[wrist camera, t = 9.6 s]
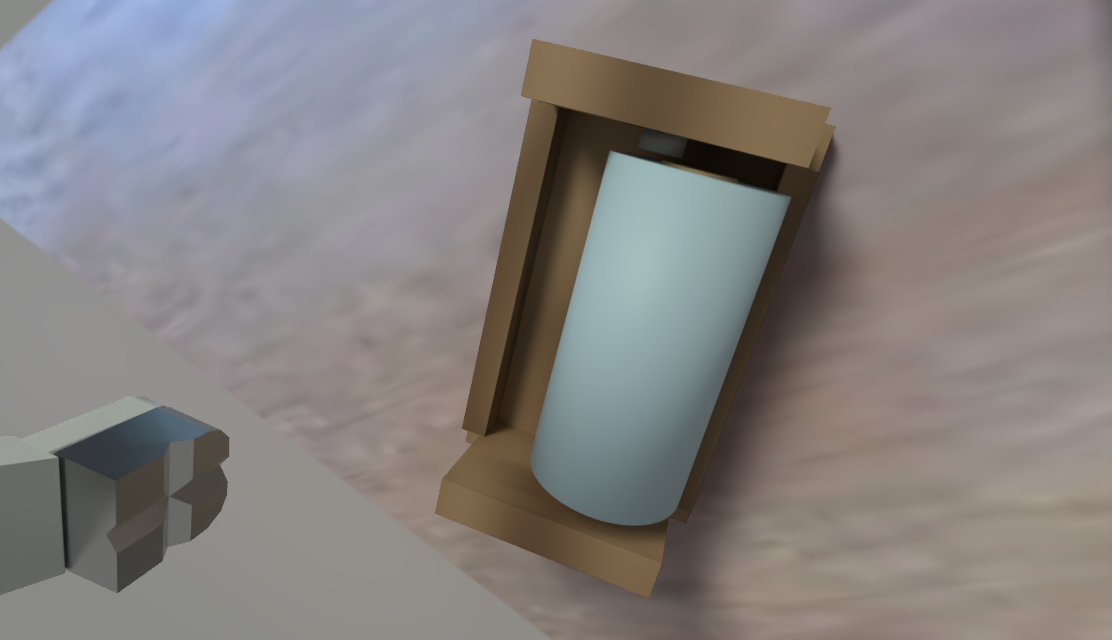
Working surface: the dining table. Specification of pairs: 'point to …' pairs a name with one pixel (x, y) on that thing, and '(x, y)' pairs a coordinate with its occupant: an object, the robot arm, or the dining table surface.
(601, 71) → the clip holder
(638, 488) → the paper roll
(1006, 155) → the dining table surface
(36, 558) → the robot arm
